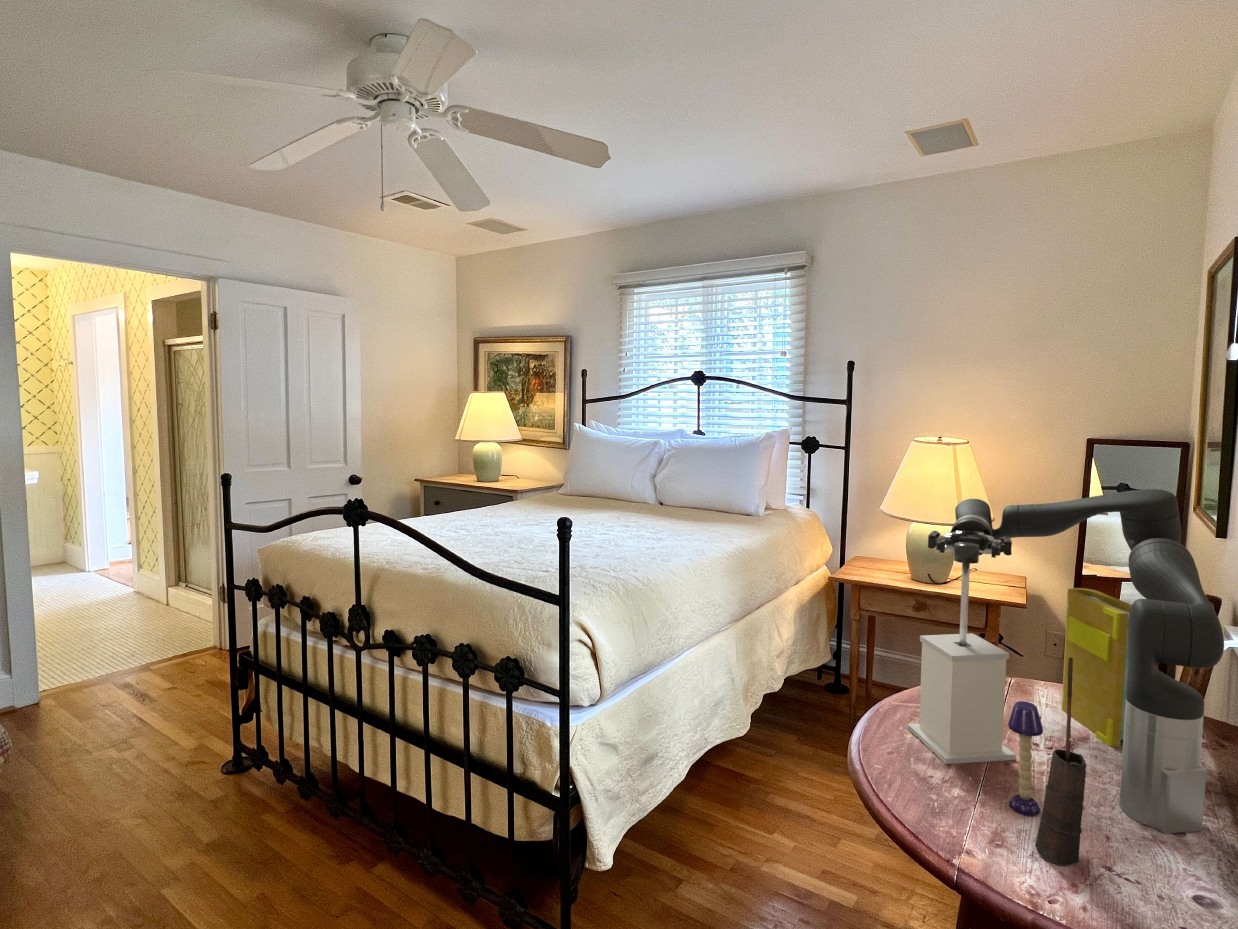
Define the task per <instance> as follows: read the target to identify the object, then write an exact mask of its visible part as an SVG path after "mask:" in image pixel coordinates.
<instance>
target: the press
mask: <svg viewBox="0 0 1238 929" xmlns="http://www.w3.org/2000/svg"><path fill="white" fill-rule="evenodd" d="M959 638H960V633H952V634H951V633H950V634H929V635H928V634H925V635H919V641H920V642H921V660H920V661H921V662H920V663H921V667H920V669H921V670H920V694H919V696H920V697H919V720H918V721H919V723H907V730H908V729H909V730H910V731H911V732H912V733H913V734H912V733H911V732H910V731H909V730H908V731H909V732H910V733H911V734H912V735H913V736H915V737H916V736H917V737H918V738H919V739H918V738H917V737H916V738H917V739H918V740H919V741H920V740H921V741H922V742H923V743H924V744H925V745H924V744H923V743H922V742H921V741H920V742H921V743H922V744H923V745H924V746H926V748H928V750H930V752H932V753H933V752H934V753H935V754H936V755H937V756H936V755H935V754H934V753H933V754H934V755H935V756H936V757H937V758H939V759H940V760H941V761H942V763H944V764H945V765H953V764H966V763H967V764H968V763H970V764H971V763H985V762H986V763H988V762H1001V761H1002V762H1003V761H1015V760H1016V756H1017V754H1016V753H1015V752H1013V751H1012V750H1010V748H1008V747H1007V746H1005V745H1004V744H1003V743H1004V723H1005V722H1004V719H1005V697H1006V696H1005V694H1006V675H1007V660H1009V659H1010V653H1009V652H1007V651H1005V649H1002V648H1000V647H998V646H996V645H995V644H993V643H991V642H990V641H988V640H986V639H985V638H982V637H981V636H978V635H977V634H974V633H967V647H960V646H959Z"/></svg>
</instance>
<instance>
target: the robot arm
mask: <svg viewBox="0 0 1238 929" xmlns="http://www.w3.org/2000/svg"><path fill="white" fill-rule="evenodd" d="M1179 509H1180V508H1179V503H1178V497H1177V496H1176V495H1175V494H1174V493H1172V492H1171V491H1168V490H1165V489H1160V488H1159V489H1158V488H1146V489H1143V488H1142V489H1134V490H1126V491H1121V492H1114V493H1113V492H1112V493H1107V494H1101V495H1095V496H1094V495H1093V496H1090V497H1089V496H1088V497H1084V498H1082V497H1081V498H1077V499H1071V500H1067V501H1059V502H1049V503H1033V504H1032V503H1031V504H1015V505H1014V504H1011V505H1007V506H1005V507H1004V508H1003V511H1002V514H1001V515H1002V516H1001V523H1000V525H999V527H997V528H993V520H992V519H993V518H992V512H991V508H990V505H989V503H987V502H986V501H985V500H983V499H980V498H968V499H965V500H962V501H961V502H959V503H958V504H956V507H955V509H954V511H955V512H954V513H955V515H954V516H955V522H954V523H953V525H952V527H951V530H950V532H946V533H945V535H942V534H941V532H939V531H937V530H932V531H931V532H930V533H929V534H928V536H927V538H928V539H927V548H929V549H930V550H931V549H936V550H935V551H939V553H943V554H944V553H945V552H946V551H947V552H948V551H949V552H954V544H955V543H958V542H966V543H974V544H978V545H979V557H980V556H982V555H983V554H984V555H991V556H990V557H991V558H997V557H998V556H1001V554H1002V553H1003V554H1004V555H1006V556H1007V557H1009V556H1012V554H1013V552H1012V545H1013V541H1012V539H1014V538H1039V537H1051V536H1055V535H1056V536H1057V535H1058V534H1062V533H1063V532H1065V531H1067V530H1069V529H1072V527H1075V526H1076V525H1078V524H1080V523H1082V522H1084V521H1085V520H1088V519H1090V518H1092V517H1095V516H1097V515H1101V514H1107V513H1119V515H1120V521H1121V523H1120V524H1121V529H1122V530H1121V531H1122V535H1123V538H1124V539H1125V542H1126V544H1127V546H1128V548H1129V550H1130V552H1129V555H1128V570H1129V571H1128V572H1129V575H1130V581H1131V584H1132V585H1133V587H1134V589H1135V590H1136V591H1137V592H1138V593H1139V594H1140V595H1141V596H1142V597H1144V598H1138V599H1135V600H1134V601H1133V602H1132V604H1131V605H1132V606H1131V608H1130V611H1129V618H1128V677H1127V690H1126V706H1125V720H1124V736H1123V740H1122V757H1121V769H1120V770H1121V771H1120V790H1119V791H1120V792H1119V802H1118V803H1119V807H1120V808H1121V810H1122V811H1123V812H1124V813H1125V814H1126V815H1127V816H1129V817H1131V818H1132V819H1134V820H1135V821H1137V822H1139V823H1141V824H1144V825H1146V826H1149V827H1151V828H1154V829H1157V830H1158V831H1160V832H1162V833H1164V834H1176V833H1191V832H1192V833H1193V832H1202V831H1203V825H1204V824H1203V822H1204V812H1205V811H1204V810H1205V795H1206V781H1207V770H1206V769H1205V768H1204V767H1203V766H1201V756H1202V742H1203V740H1202V739H1203V729H1204V728H1203V726H1204V714H1205V700H1204V697H1203V695H1202V693H1200V692H1199V690H1196V689H1195V688H1194V687H1192V686H1190V685H1188V684H1186V683H1184V682H1181V681H1179V680H1177V679H1175V678H1173V677H1171V676H1168V675H1167V674H1166V673H1164V672H1162V671H1161V670H1160V669H1158V668H1157V667H1156V666H1155V663H1158V664H1159V663H1160V664H1164V665H1165V664H1166V665H1172V666H1178V667H1184V668H1185V667H1187V668H1192V669H1209V668H1213V667H1214V666H1216V665H1218V663H1219V662H1220V661H1221V659H1222V657H1223V654H1224V650H1225V638H1224V637H1225V636H1224V632H1223V628H1222V624H1221V622H1220V618H1219V616H1218V615H1217V612H1216V610H1215V609H1214V607H1213V605H1212V604H1211V602H1210V600H1209V599H1208V597H1207V595H1206V594H1205V591H1204V590H1203V586H1202V582H1201V579H1200V575H1199V571H1198V568H1197V566H1196V562H1195V559H1194V557H1193V556H1192V554H1191V552H1190V551H1189V550H1188V548H1187V547H1186V546H1184V545H1183V544H1182V543H1181V542H1182V541H1181V540H1182V526H1181V518H1180V510H1179Z"/></svg>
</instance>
